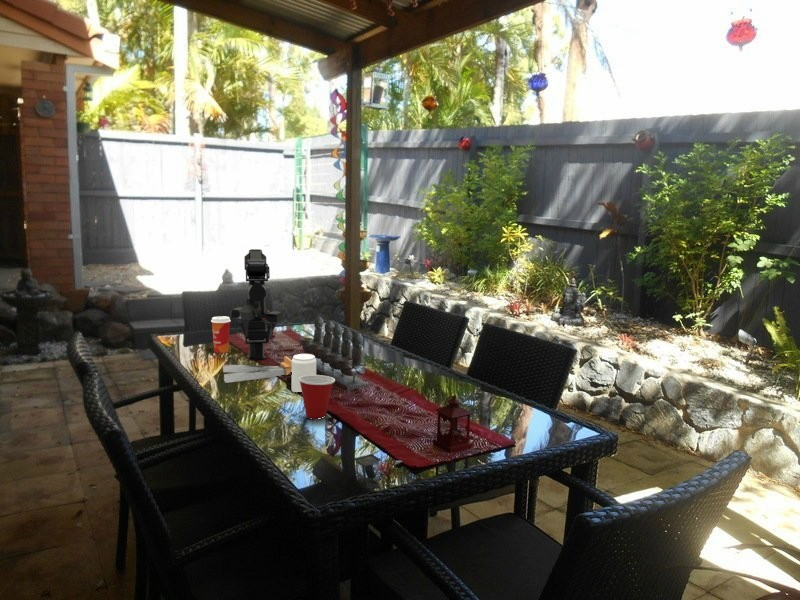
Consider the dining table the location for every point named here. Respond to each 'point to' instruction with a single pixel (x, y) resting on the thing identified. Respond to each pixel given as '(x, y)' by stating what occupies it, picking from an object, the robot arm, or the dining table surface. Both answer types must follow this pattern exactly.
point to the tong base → (254, 375)
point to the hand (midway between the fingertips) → (257, 338)
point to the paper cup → (221, 333)
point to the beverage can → (302, 369)
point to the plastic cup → (316, 394)
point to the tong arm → (245, 368)
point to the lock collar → (287, 365)
